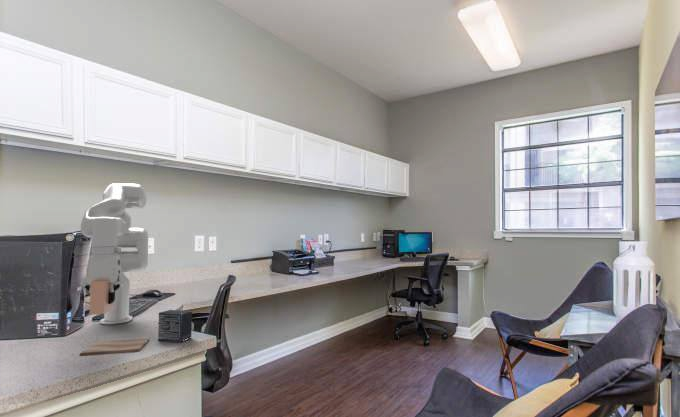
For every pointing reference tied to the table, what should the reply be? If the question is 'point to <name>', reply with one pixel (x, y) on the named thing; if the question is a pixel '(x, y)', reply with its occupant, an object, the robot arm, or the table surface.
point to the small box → (174, 325)
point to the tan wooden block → (99, 298)
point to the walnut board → (115, 346)
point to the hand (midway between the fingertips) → (102, 303)
